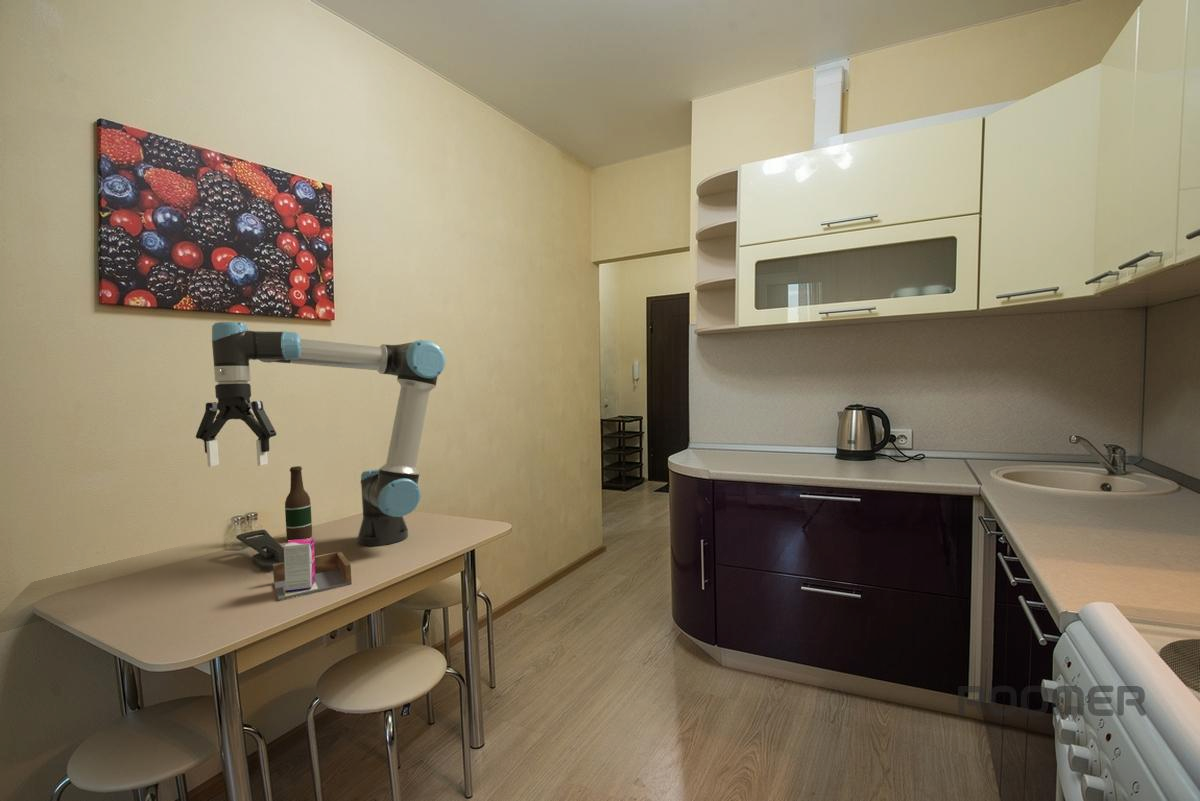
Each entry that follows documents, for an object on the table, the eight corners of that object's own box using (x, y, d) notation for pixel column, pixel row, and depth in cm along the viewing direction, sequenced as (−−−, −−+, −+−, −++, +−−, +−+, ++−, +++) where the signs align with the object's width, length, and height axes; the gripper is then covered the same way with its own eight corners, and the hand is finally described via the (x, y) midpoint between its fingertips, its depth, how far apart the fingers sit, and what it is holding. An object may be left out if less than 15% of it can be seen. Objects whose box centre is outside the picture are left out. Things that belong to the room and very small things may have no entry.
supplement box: (311, 589, 131) (309, 543, 130) (284, 593, 129) (281, 546, 128) (316, 581, 136) (314, 536, 136) (290, 584, 134) (287, 539, 134)
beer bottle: (316, 537, 178) (312, 466, 177) (290, 543, 172) (286, 469, 171) (308, 533, 183) (304, 464, 182) (283, 539, 178) (278, 467, 176)
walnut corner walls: (341, 569, 147) (340, 551, 147) (351, 584, 135) (350, 564, 135) (273, 583, 138) (272, 564, 137) (278, 601, 126) (277, 580, 126)
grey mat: (341, 569, 147) (341, 566, 147) (351, 584, 135) (351, 581, 135) (273, 583, 138) (273, 580, 138) (278, 601, 126) (278, 598, 126)
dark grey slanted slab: (266, 528, 167) (300, 541, 152) (267, 548, 168) (301, 564, 152) (232, 535, 160) (265, 550, 145) (234, 557, 161) (266, 574, 145)
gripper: (175, 384, 134) (180, 468, 135) (268, 381, 132) (273, 466, 133) (199, 384, 142) (205, 463, 143) (288, 381, 139) (293, 462, 140)
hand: (238, 465), depth 138 cm, fingers open, 13 cm apart
